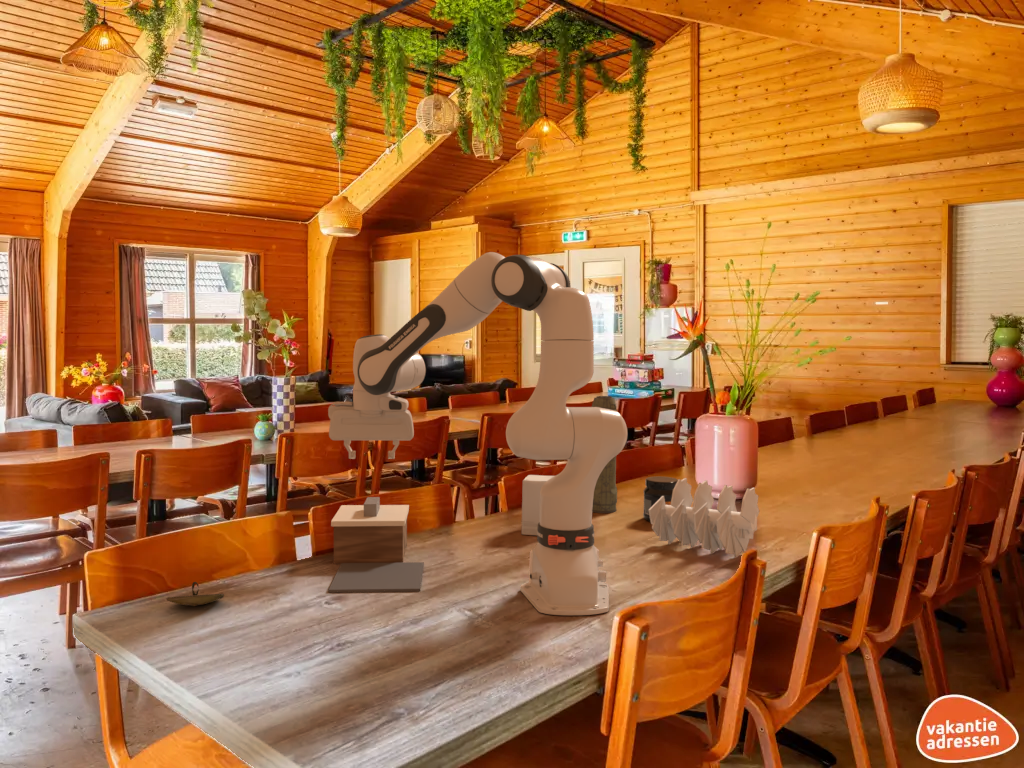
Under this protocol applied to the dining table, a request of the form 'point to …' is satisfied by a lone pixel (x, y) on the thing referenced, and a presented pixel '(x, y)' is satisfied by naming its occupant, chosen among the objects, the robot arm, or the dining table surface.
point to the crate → (369, 544)
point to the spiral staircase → (706, 518)
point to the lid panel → (380, 520)
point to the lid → (195, 598)
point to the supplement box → (531, 502)
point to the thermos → (605, 471)
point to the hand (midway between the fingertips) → (371, 458)
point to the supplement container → (657, 492)
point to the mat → (378, 577)
